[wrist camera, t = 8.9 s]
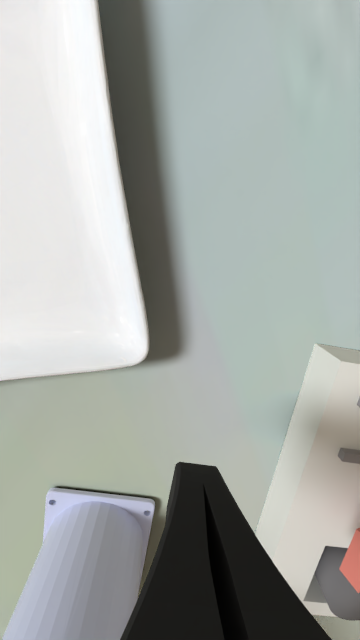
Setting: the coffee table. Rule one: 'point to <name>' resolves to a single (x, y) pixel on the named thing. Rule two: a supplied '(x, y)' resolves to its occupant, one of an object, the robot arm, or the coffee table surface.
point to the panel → (316, 475)
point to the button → (337, 584)
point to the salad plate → (62, 200)
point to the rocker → (352, 562)
